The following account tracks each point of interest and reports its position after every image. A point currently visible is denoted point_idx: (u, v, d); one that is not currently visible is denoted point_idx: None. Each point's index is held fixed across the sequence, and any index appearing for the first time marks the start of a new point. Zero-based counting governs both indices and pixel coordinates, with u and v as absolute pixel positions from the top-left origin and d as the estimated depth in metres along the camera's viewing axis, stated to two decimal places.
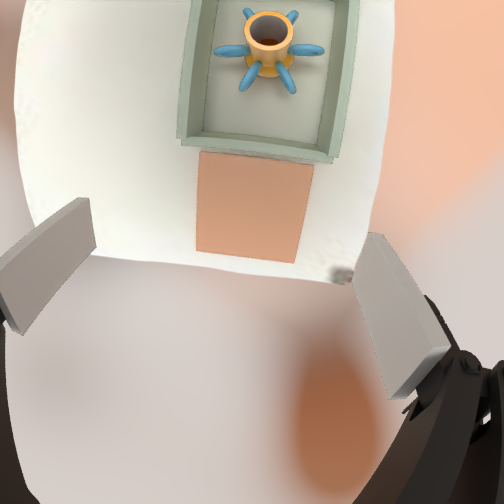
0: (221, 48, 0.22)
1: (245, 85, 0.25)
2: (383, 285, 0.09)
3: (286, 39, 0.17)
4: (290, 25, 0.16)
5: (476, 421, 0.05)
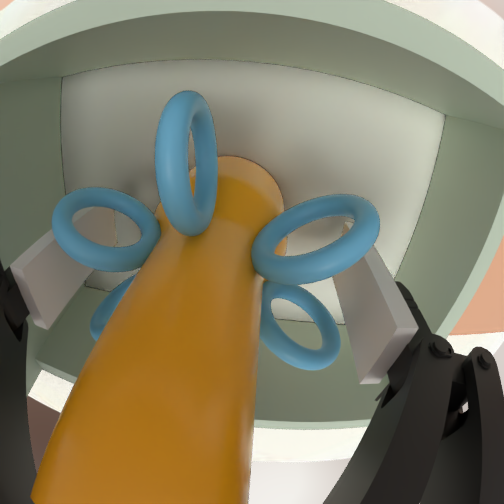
0: None
1: (332, 359, 0.09)
2: (355, 271, 0.10)
3: None
4: None
5: (455, 410, 0.06)
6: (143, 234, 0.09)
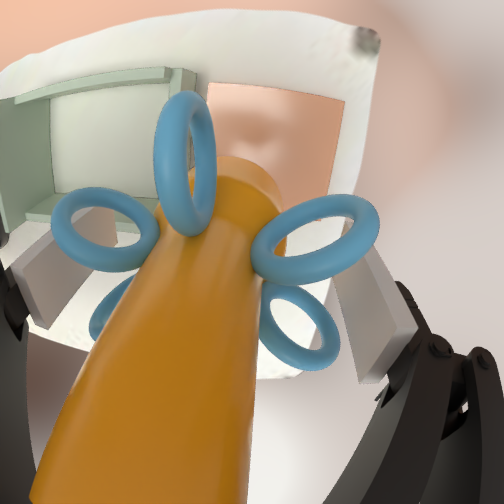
0: None
1: (331, 359, 0.09)
2: (355, 271, 0.10)
3: None
4: None
5: (454, 410, 0.06)
6: (142, 234, 0.09)
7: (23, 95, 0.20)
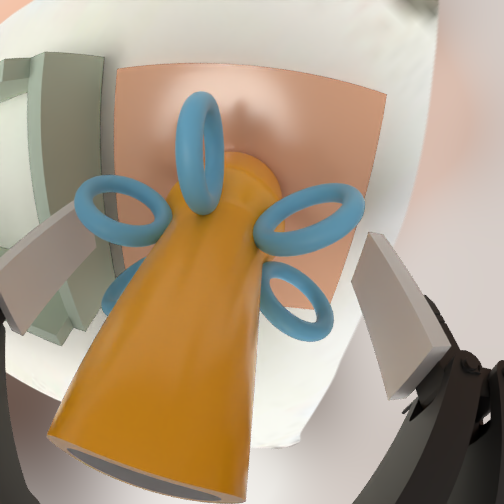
0: None
1: (325, 332, 0.10)
2: (383, 285, 0.09)
3: (165, 479, 0.03)
4: (74, 445, 0.03)
5: (476, 421, 0.05)
6: (156, 216, 0.10)
7: None
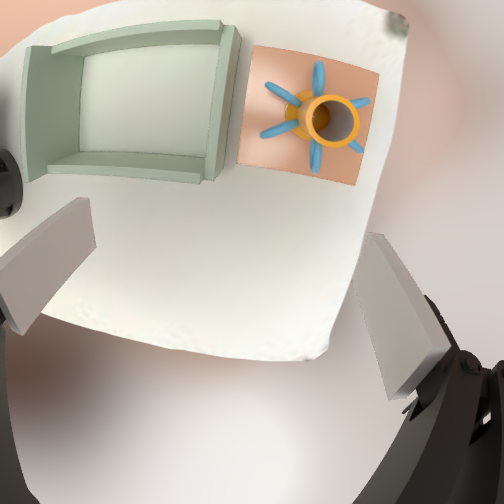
0: (316, 166, 0.25)
1: (362, 148, 0.24)
2: (383, 285, 0.09)
3: (346, 104, 0.16)
4: (327, 96, 0.16)
5: (476, 421, 0.05)
6: None
7: (62, 44, 0.19)
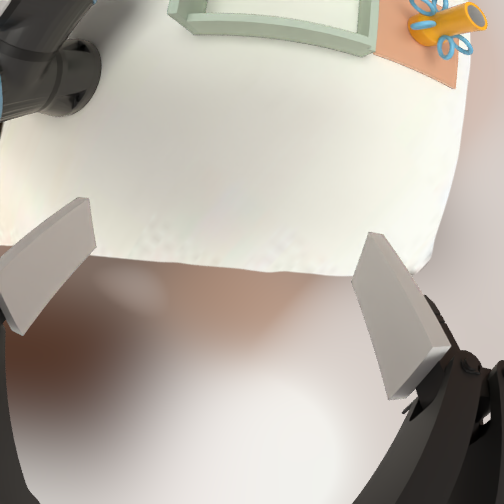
0: (452, 52, 0.20)
1: (472, 49, 0.19)
2: (383, 285, 0.09)
3: (479, 10, 0.11)
4: (471, 3, 0.11)
5: (476, 421, 0.05)
6: (428, 11, 0.19)
7: None
